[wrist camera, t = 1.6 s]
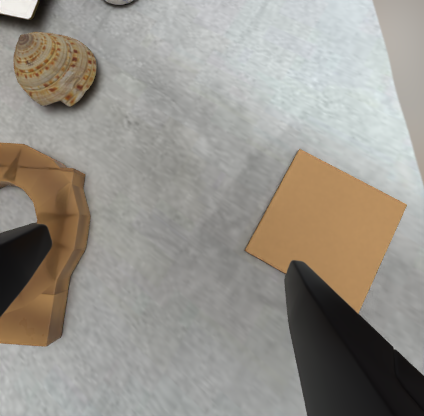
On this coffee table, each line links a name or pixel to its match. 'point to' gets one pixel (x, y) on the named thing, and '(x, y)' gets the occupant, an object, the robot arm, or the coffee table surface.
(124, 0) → the beverage can
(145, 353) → the coffee table surface
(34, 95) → the seashell
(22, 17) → the plate
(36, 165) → the cup stand
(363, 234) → the coaster
